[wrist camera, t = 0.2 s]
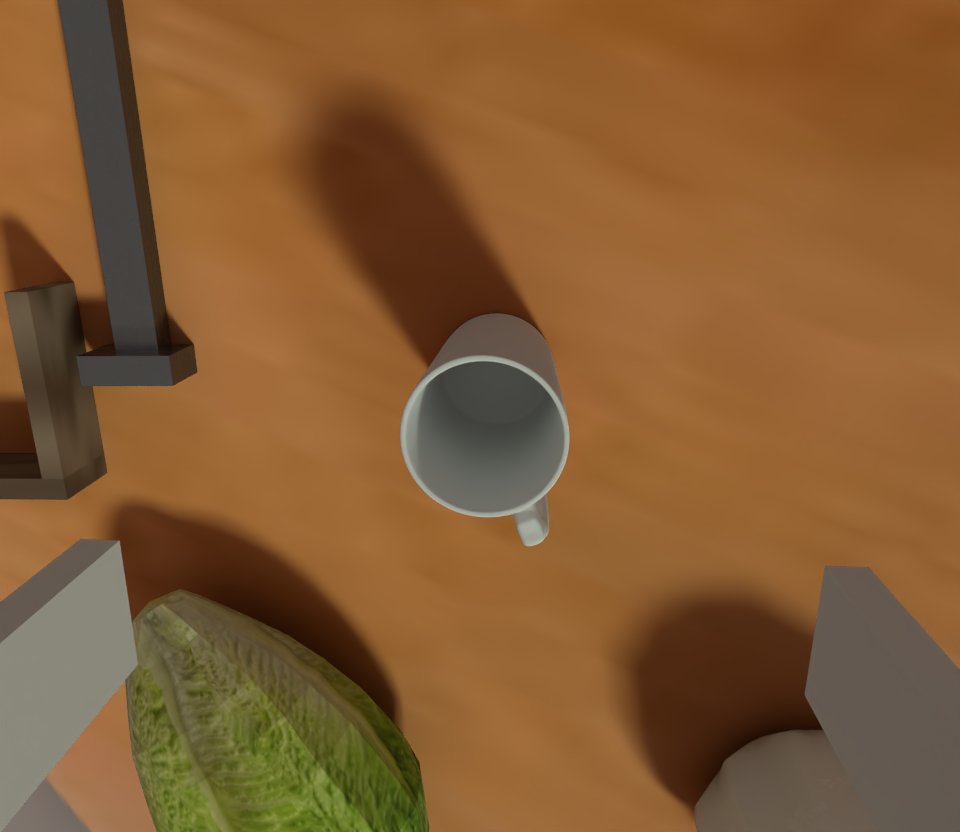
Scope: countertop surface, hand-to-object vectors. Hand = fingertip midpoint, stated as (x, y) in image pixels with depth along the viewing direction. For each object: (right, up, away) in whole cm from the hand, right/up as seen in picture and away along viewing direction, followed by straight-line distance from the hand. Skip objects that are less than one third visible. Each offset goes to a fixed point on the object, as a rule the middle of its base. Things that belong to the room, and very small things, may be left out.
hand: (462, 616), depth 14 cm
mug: (+2, +5, +28) cm, 28 cm away
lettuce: (-12, -14, +34) cm, 39 cm away
